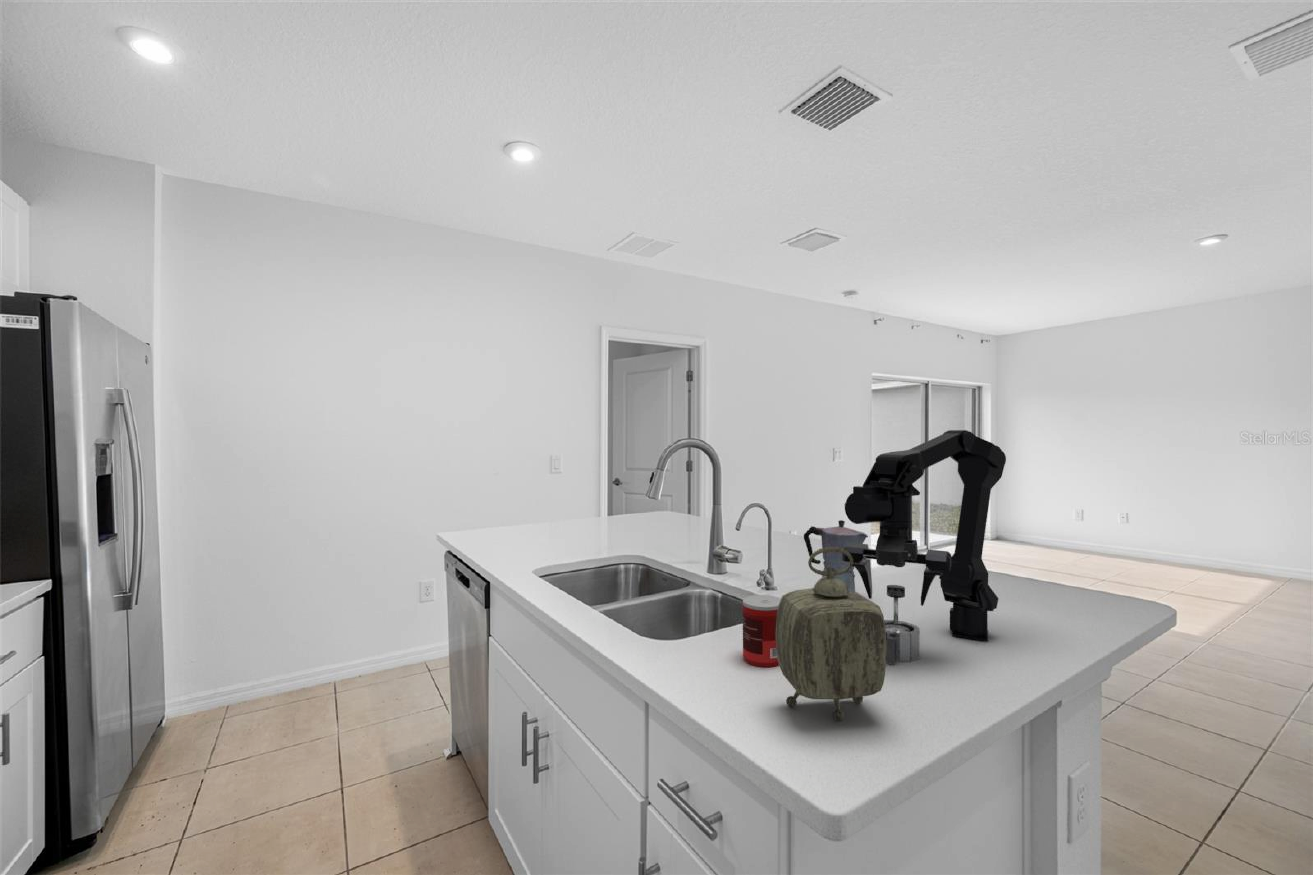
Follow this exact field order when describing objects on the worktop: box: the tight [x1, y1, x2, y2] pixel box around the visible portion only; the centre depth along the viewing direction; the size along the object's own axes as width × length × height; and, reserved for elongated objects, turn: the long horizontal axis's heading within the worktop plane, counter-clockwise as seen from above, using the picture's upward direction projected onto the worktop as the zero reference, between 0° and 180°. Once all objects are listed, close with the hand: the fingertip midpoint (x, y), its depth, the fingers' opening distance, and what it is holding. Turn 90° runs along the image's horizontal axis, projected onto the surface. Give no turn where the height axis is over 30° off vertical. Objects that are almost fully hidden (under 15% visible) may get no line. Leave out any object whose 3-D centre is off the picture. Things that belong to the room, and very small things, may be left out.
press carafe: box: [884, 619, 921, 666], centre depth 110 cm, size 8×11×5 cm
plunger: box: [885, 584, 910, 633], centre depth 111 cm, size 5×5×8 cm
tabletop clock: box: [776, 547, 887, 722], centre depth 87 cm, size 14×9×25 cm, turn 97°
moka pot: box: [803, 519, 869, 592], centre depth 146 cm, size 10×15×20 cm, turn 78°
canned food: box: [742, 594, 782, 668], centre depth 108 cm, size 8×8×11 cm
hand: (895, 601), depth 111 cm, fingers open, 9 cm apart
